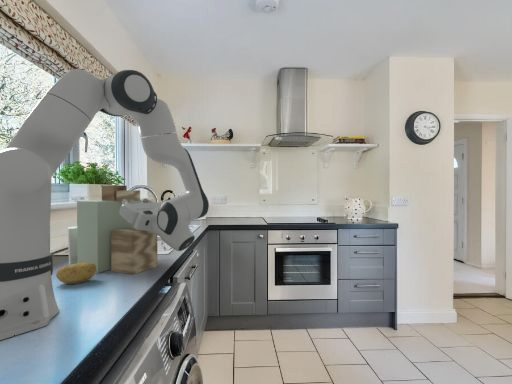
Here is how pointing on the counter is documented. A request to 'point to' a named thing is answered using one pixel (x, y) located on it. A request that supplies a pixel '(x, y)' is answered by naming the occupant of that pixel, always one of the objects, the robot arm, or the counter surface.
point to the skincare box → (72, 244)
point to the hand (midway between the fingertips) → (134, 200)
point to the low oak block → (133, 250)
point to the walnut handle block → (119, 193)
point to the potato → (76, 273)
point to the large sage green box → (98, 231)
